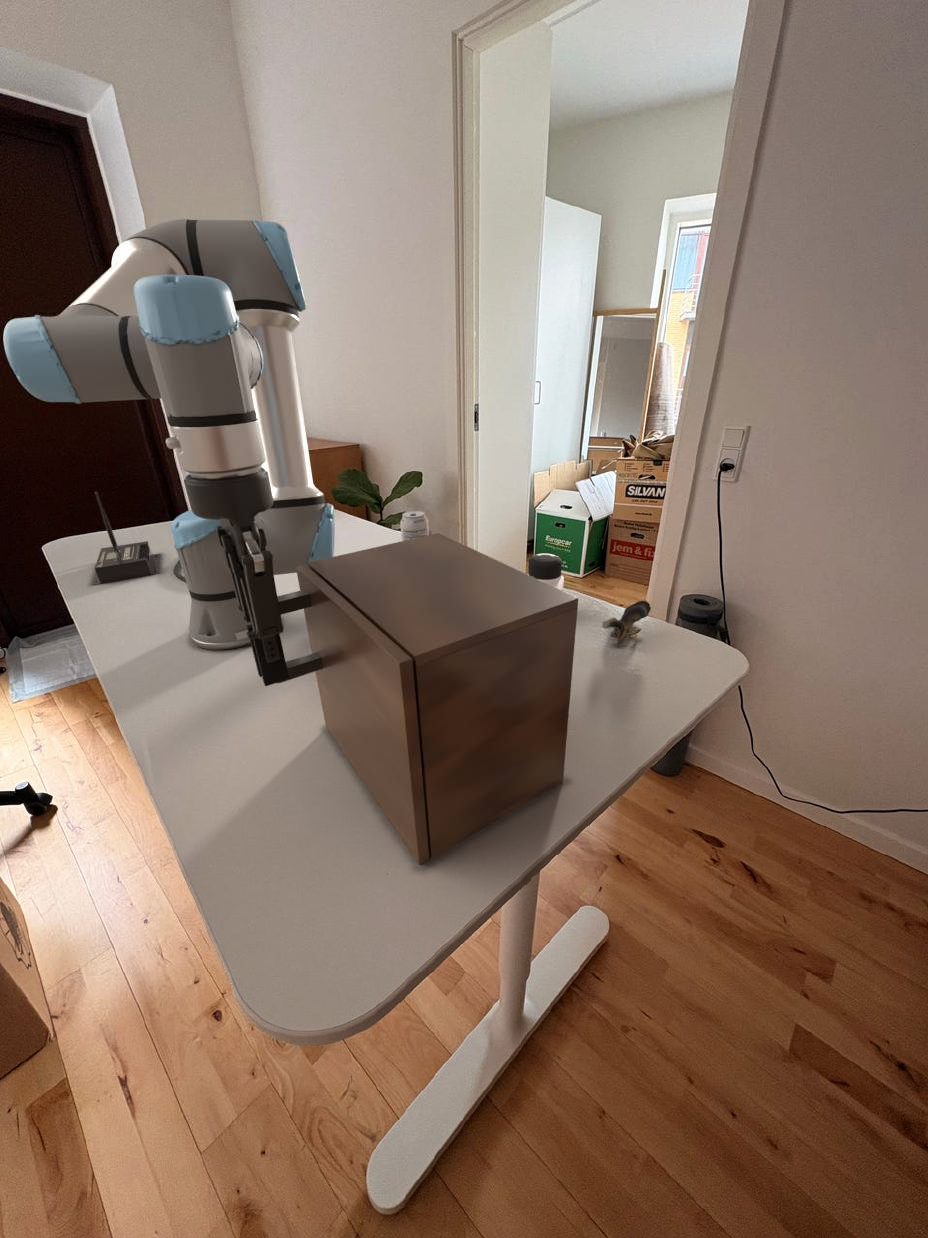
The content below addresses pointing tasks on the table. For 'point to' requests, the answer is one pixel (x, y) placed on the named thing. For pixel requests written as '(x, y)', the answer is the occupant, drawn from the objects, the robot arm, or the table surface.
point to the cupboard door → (365, 702)
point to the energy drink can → (414, 525)
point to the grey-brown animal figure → (628, 621)
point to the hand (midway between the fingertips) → (273, 676)
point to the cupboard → (471, 672)
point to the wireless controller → (123, 559)
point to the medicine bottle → (547, 569)
